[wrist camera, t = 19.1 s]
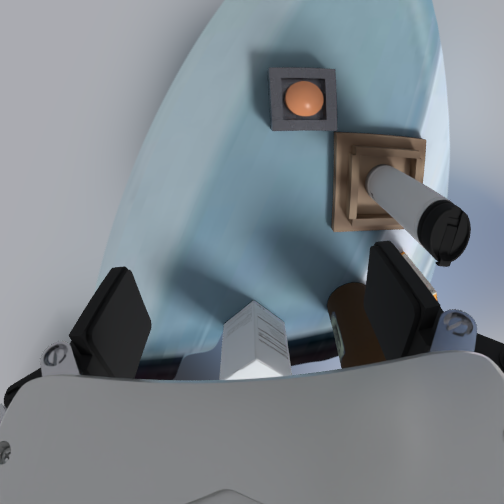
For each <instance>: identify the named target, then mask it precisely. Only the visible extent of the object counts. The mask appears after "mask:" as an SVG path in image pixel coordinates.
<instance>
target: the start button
mask: <svg viewBox="0 0 504 504" xmlns="http://www.w3.org/2000/svg"><path fill="white" fill-rule="evenodd" d="M284 102H285V105H286V107H287V108H288V110H289V111H291V112H292V113H293V114H296V115H299V116H312V115H314V114H316V113H317V112H318V111H319V110H320V109H321V107H322V105H323V94H322V92H321V90H320V89H319V88H318V86H316V85H315V84H313V83H311V82H308V81H300V82H297V83H295V84H293V85H291V86H290V87H289V88H288V89H287V90H286V92H285V95H284Z"/></svg>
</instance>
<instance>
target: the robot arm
mask: <svg viewBox="0 0 504 504" xmlns="http://www.w3.org/2000/svg"><path fill="white" fill-rule="evenodd" d="M364 310H365V312H366V314H367V317H368V319H369V321H370V323H371V326H372V328H373V330H374V332H375V335H376V337H377V339H378V342H379V344H380V347H381V349H382V351H383V354H384V356H385V359H386V361H383V362H378V363H372V364H367V365H361V366H355V367H349V368H343V369H337V370H330V371H323V372H316V373H308V374H300V375H290V376H280V377H268V378H255V379H237V380H207V381H174V380H144V379H134V377H135V374H136V371H137V368H138V365H139V362H140V359H141V356H142V353H143V350H144V347H145V344H146V341H147V339H148V336H149V333H150V330H151V320H150V317H149V315H148V312H147V310H146V308H145V305H144V303H143V300H142V298H141V295H140V292H139V290H138V287H137V285H136V282H135V279H134V276H133V274H132V272H131V270H128V269H127V268H126V267H115V268H112V269H111V270H110V271H109V273H108V274H107V276H106V277H105V279H104V280H103V282H102V283H101V285H100V286H99V288H98V289H97V291H96V292H95V294H94V295H93V297H92V298H91V300H90V301H89V303H88V305H87V306H86V308H85V310H84V311H83V313H82V314H81V316H80V317H79V319H78V321H77V322H76V324H75V326H74V327H73V329H72V331H71V332H70V334H69V337H70V339H71V340H72V341H71V343H70V344H69V343H68V342H66V341H58V342H55V343H53V344H51V345H50V346H48V347H47V348H46V349H45V350H44V352H43V354H42V355H41V358H40V365H41V368H40V369H38V370H36V371H35V372H33V373H31V374H30V375H28V376H26V377H25V378H23V379H21V380H19V381H18V382H16V383H14V384H13V385H11V386H10V387H9V388H8V389H7V391H6V394H5V397H4V406H3V405H2V404H0V504H504V344H503V343H500V342H498V341H495V340H493V339H490V338H488V337H485V336H483V335H480V334H478V333H477V325H476V322H475V320H474V319H473V318H472V317H471V316H470V315H469V314H467V313H466V312H463V311H461V310H456V309H454V310H453V309H452V310H447V311H445V312H444V311H443V310H442V309H441V307H440V304H439V303H438V301H437V300H436V299H435V297H434V296H433V294H432V293H431V292H430V290H429V289H428V288H427V286H426V285H425V284H424V282H423V281H422V280H421V278H420V277H419V276H418V275H417V273H416V272H415V271H414V269H413V268H412V267H411V266H410V264H409V263H408V262H407V261H406V259H405V258H404V257H403V256H402V255H401V253H400V252H399V251H398V250H397V248H396V247H395V246H394V245H393V244H392V242H391V241H381V242H376V243H375V244H374V246H371V248H370V255H369V264H368V273H367V281H366V288H365V295H364Z"/></svg>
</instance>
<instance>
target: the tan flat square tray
mask: <svg viewBox="0 0 504 504" xmlns="http://www.w3.org/2000/svg"><path fill="white" fill-rule="evenodd" d="M425 153H426V140H425V139H422V138H413V137H404V136H394V135H383V134H369V133H349V132H334V178H333V207H332V227H331V228H332V230H333V232H345V231H368V230H393V229H404V228H403V227H402V226H401V225H400V224H399V223H398V222H397V221H396V220H395V219H394V218H393V217H392V216H391V215H390V214H389V213H387V212H386V211H385V210H384V209H383V208H382V207H381V206H380V205H379V204H378V203H376V202H375V201H374V200H373V199H372V198H371V197H370V196H369V195H368V193H367V191H366V188H365V181H366V177H367V175H368V173H369V172H370V170H371V169H372V168H373V167H375V166H377V165H380V164H387V165H390V166H392V167H394V168H396V169H397V170H399V171H401V172H403V173H405V174H406V175H408V176H410V177H412V178H414V179H415V180H417V181H419V182H420V183H422V184H423V176H424V165H425Z"/></svg>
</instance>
